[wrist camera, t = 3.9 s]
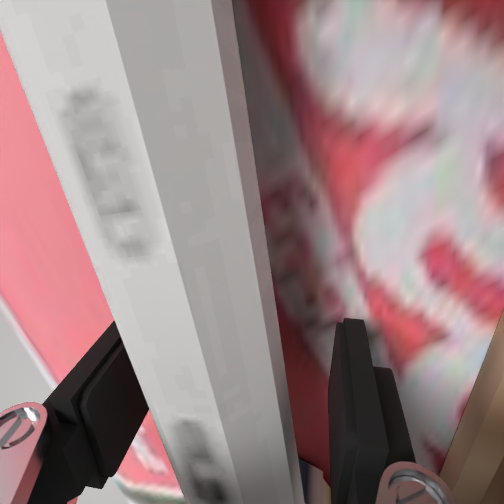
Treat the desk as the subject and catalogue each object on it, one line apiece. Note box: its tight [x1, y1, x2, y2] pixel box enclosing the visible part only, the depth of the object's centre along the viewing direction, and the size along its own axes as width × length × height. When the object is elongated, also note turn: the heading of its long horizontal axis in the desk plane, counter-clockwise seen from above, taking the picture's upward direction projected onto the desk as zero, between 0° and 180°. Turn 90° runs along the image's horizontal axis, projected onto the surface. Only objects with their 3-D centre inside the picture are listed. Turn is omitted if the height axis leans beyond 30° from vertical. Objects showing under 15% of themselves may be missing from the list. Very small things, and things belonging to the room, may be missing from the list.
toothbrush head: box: [0, 0, 331, 504], centre depth 9 cm, size 5×7×25 cm
